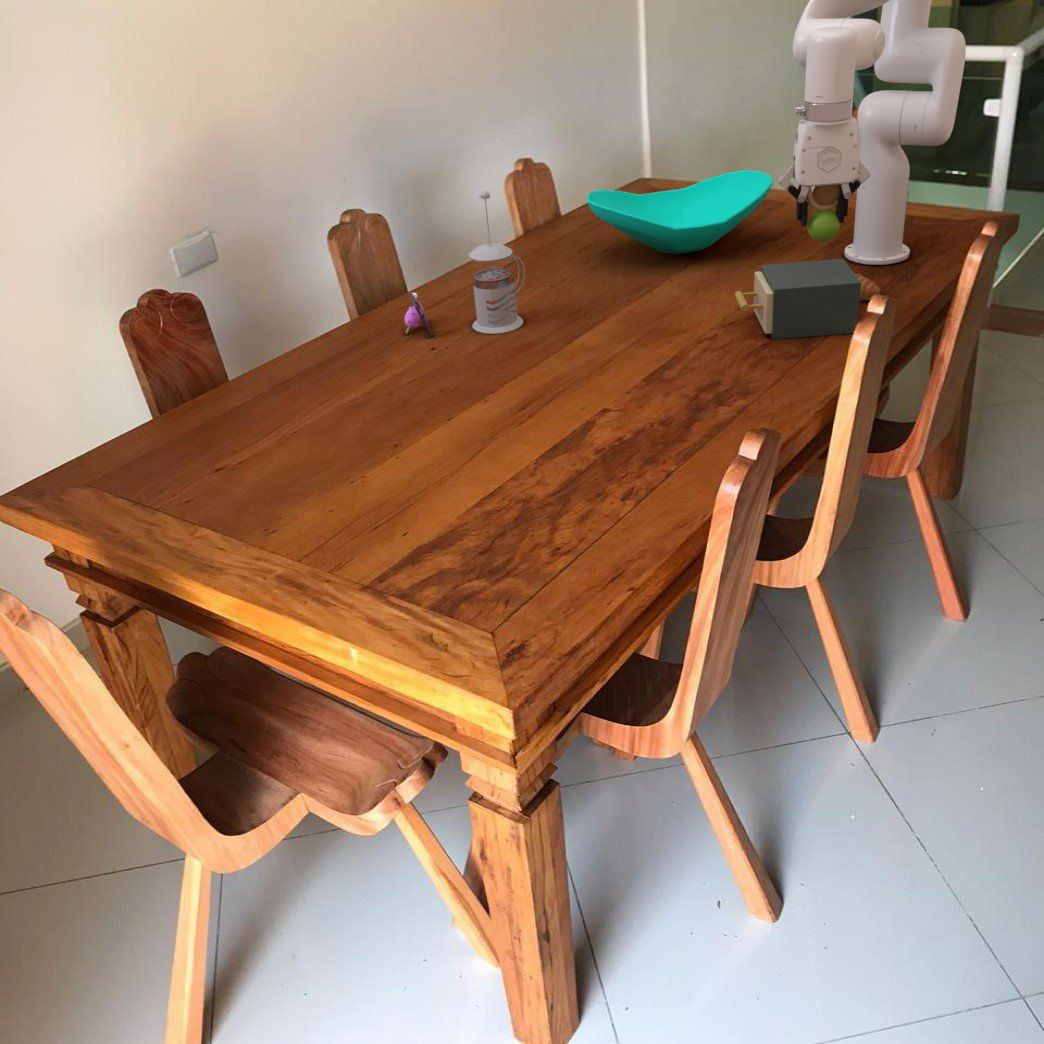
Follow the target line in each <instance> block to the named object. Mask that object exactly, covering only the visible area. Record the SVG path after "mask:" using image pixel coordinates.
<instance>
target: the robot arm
mask: <svg viewBox="0 0 1044 1044" xmlns="http://www.w3.org/2000/svg"><path fill="white" fill-rule="evenodd" d="M879 7H882V9H881V14H880V15H881V16H880V23H879V22H878V21H877V20H875V19H871V18H850V17H853V16H857V15H860V14H863V13H866V12H869V11H872V10H874V9H877V8H879ZM931 8H932V0H809V1H808V3H807V4H806V6H805V8H804V10H803V13H802V14H801V17H800V19H799V22H798V23H797V26H796V29H795V32H794V35H793V38H792V39H793V41H792V55H793V58H794V61H795V62H796V63H797V65H799V66H800V67H802V68H805V80H804V81H805V82H804V100H802V103H801V104H800V105H796V106H795V107H794V115H795V116H800V117H802V118H803V119H800V120H799V122H798V126H797V130H796V134H795V141H794V146H793V148H794V149H793V155H792V162H791V163H790V164H789V166H787V168H786V169H785V170H784V171H783V172H782V174H780V176H779V177H778V178H777V183H778V185H780V186H781V187H782V188H783V189H785V190H786V191H787V192H788V193H789V194H790V195H791V196H792V197H793V198H794V199H795V200H796V206H795V207H796V209H795V210H796V211H795V219H796V220H797V221H798V223H800V225H801V226H802V227H807V221H808V215H809V212H808V210H809V204H808V202H807V199H806V196H807V194H808V191H809V189H810V187H811V188H812V187H815V186H824V185H836V184H838V185H839V188H840V194H839V197H838V199H837V200H836V201H839V203H838V205H837V206H836V207H835V213H836V214H837V216H838V218H839V222H840V224H844V222H845V217H847V216H848V213H849V212H848V210H849V199H851V197H852V195H853V194H854V193H855V192H856V198H855V200H856V201H855V212H854V213H855V214H854V225H853V239H852V243H850V244H849V245H846V247H845V248H844V257H845V258H846V259H847V260H849V261H851V262H854V263H856V264H862V265H871V266H884V265H886V266H887V265H894V264H897V263H901V262H904V261H905V260H907V259H908V258H909V257H910V253H911V250H910V247H908V246H907V245H906V244H904V242H903V241H904V232H905V231H904V230H905V221H906V212H907V211H906V210H907V201H908V190H909V183H910V182H909V180H910V173H911V171H910V169H911V168H910V167H911V166H910V162H909V159H908V157H907V155H906V153H905V152H904V150H903V148H902V147H901V146H920V147H922V146H923V147H937V146H942V145H944V144H945V143H946V142H947V141H948V140H949V139H950V137H951V134H952V132H953V129H954V126H955V120H956V115H957V109H958V104H959V98H960V92H961V87H962V81H963V75H964V68H965V63H966V52H967V45H966V39H965V36H964V34H963V33H962V32H961V31H960V30H959V29H956V28H954V27H953V28H952V27H929V20H930V14H931ZM872 66H874V74H875V76H876V77H877V79H879V80H880V81H883V82H886V83H896V84H920V85H921V84H922V85H923V84H924V85H925V84H926V85H931V86H932V91H925V90H922V91H921V90H901V89H900V90H897V89H896V90H894V89H886V90H878V91H874V92H871V93H869V94H868V95H866V96H864V98H863V99H862V100H861V102H860V104H859V106H858V109H857V117H856V118H855V117H854V116H853V103H854V89H855V88H854V86H855V73H856V72H855V71H862V70H866V69H868V68H870V67H872ZM791 178H793V179H794V180H795V182H796V183H797V184H798V185H797V187H796V186H795V185H794V184H792V182H791V181H790V180H791Z"/></svg>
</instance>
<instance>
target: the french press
mask: <svg viewBox="0 0 1044 1044" xmlns="http://www.w3.org/2000/svg"><path fill="white" fill-rule="evenodd" d="M490 198H491V194H490V192H489V191H488V190H483V191H481V192H479V199H480V200H484V206H485V216H486V225H487V234H488V236H487V237H488V243H485V244H481V245H478V246H476V247H475V248H474V249H473V250H472V251H470V252H469V253H468V257H469V259H470V260H471V261H473V262H475V263H484V264H485V263H486V264H488V263H490V264H491V267H489V268H485V269H482V270H481V269H480V270H479V271H477V272H475V273H474V274H473V279H474V281H473V286H472V287H473V295H474V304H475V313H476V320H474V322H473V323H472V329H473V330H475V331H476V332H479V333H481V334H492V335H493V334H494V335H495V334H504V333H507V332H508V333H509V332H511V331H515V330H516V329H519V328H520V327H522V325H523V324H524V319H523V318H522V317H521V316H520V315H518V307H517V296H516V295H517V294H518V292H519V291H520V290H521V289H522V287H523V285H524V283H525V279H526V270H525V265H524V262H523V261H522V259H521V258H520V257H519V256H516V255H514V254H513V249H512V248H511V247H509V246H507V245H504V244H503V243H495V242H491V235H490V227H489V218H488V217H489V216H488V208H487V200H488V199H490ZM509 258H510V261H509V260H508V259H509ZM512 258H513V259H514V260H515V263H516V264H517V270H518V273H517V278H516V279H517V280H516V282H515V279H514V278H513V277H512V276H513V271H511V270H510V269H508V268H505V267H494V266H493V263H497V262H501V261H502V262H503V261H505V262H506V263H507V264H512V261H513V259H512ZM518 261H519V262H520V264H521V266H522V273H523V274H522V275H523V279H522V282H521V285H520V286H519V288H518V289H517V290H516V286H517V285H518V283H519V280H520V276H521V270H520V264H519V262H518ZM510 280H511V284H510ZM495 283H496V284H498V285H496V284H495ZM483 284H486V285H484V286H482V287H481V285H483ZM480 287H481V288H480ZM511 292H512V293H511ZM488 302H496V303H488ZM512 305H513V306H512Z"/></svg>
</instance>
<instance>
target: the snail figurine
mask: <svg viewBox="0 0 1044 1044" xmlns="http://www.w3.org/2000/svg"><path fill="white" fill-rule="evenodd" d="M839 194H840V188H839V185H838V184H836V185H824V186H814V187H813V189H812V186H811V187H810V189H809V191H808V194H807V196H806V201H807V202H808V206H809V207H810V208H812V209H813V210H815V211H813V212H812V213H811V214H810V216H808V218H807V225H806V231H807V233H808V235H809V237H810V238H812V239H813V240H814V241H816V242H820V243H821V242H828V241H831V240H832V239H833V238H835V237H836V236H837V234H838V233H839V230H840V228H841V223H840V222H839V218H838V216H837V214H836V211H834V210H833V209H836V206H837V205H838V203H839V201H836V200H837V199H838V197H839Z"/></svg>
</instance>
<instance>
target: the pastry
mask: <svg viewBox="0 0 1044 1044" xmlns="http://www.w3.org/2000/svg"><path fill="white" fill-rule="evenodd" d="M853 273H854V274H855V275H856V276H857V278H858V279H859V280H860V282H861V292H860V302H862V301H871V300H870V298H871V297H872V296H873V295H875V294H879V295H880V292H881V288H880V286H879V285H878V284H876V282H875V281H873V280H870V278H868V277H865V276H863V274H861V273H855V272H853Z"/></svg>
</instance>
